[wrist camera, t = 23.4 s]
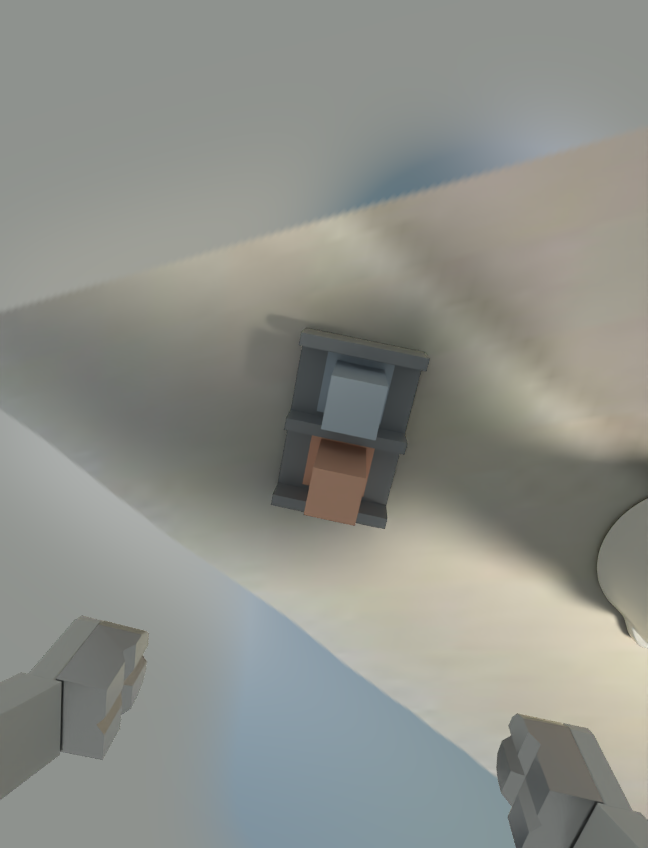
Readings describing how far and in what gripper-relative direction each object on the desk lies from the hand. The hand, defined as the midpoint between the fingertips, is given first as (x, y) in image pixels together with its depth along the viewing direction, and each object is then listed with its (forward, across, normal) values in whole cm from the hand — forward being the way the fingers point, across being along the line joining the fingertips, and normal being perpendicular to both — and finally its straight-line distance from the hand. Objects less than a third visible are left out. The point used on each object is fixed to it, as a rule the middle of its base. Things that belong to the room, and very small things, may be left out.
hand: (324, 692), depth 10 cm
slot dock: (+31, 0, -4) cm, 31 cm away
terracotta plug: (+30, 0, -7) cm, 31 cm away
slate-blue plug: (+30, 0, 0) cm, 30 cm away
